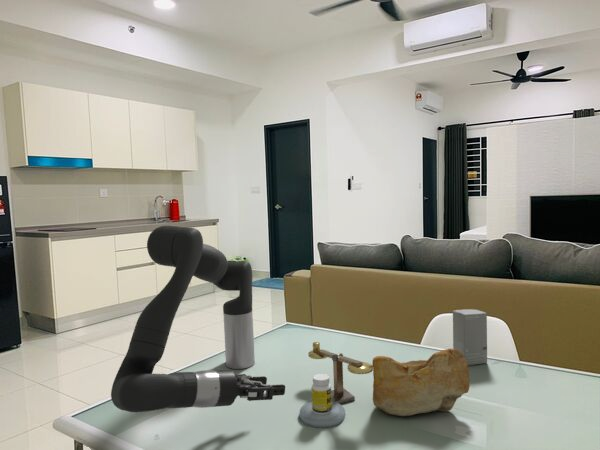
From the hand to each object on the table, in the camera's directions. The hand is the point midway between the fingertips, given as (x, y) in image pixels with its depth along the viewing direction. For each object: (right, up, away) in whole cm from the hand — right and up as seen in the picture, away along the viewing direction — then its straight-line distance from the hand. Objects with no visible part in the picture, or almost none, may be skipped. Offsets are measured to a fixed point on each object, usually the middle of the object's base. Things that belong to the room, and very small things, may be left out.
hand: (274, 385), depth 104 cm
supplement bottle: (+11, -7, +2) cm, 14 cm away
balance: (+16, -8, +11) cm, 21 cm away
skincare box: (+59, -5, +33) cm, 68 cm away
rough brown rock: (+36, -7, +7) cm, 37 cm away
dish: (+11, -8, +3) cm, 14 cm away
